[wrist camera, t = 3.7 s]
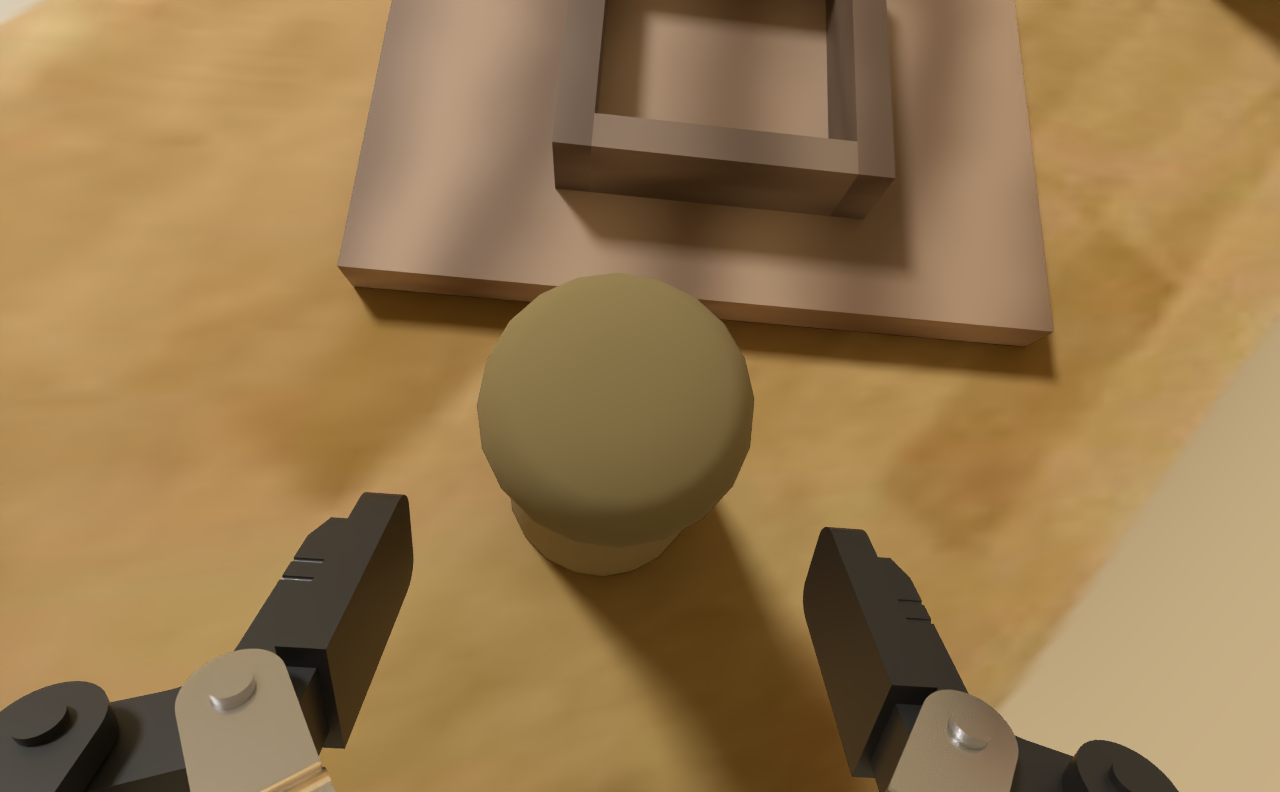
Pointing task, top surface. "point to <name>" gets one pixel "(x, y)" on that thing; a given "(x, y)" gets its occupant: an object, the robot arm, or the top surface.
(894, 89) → the jig board
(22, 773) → the robot arm
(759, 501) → the top surface
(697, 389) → the cork
